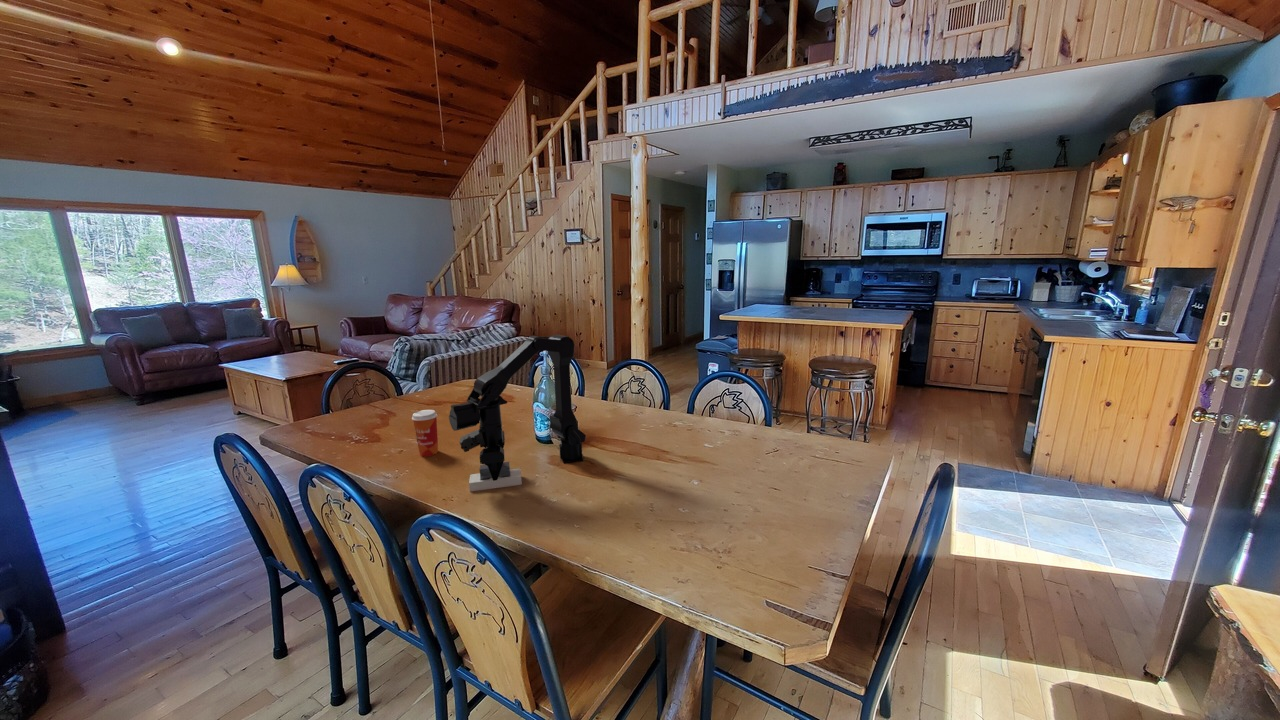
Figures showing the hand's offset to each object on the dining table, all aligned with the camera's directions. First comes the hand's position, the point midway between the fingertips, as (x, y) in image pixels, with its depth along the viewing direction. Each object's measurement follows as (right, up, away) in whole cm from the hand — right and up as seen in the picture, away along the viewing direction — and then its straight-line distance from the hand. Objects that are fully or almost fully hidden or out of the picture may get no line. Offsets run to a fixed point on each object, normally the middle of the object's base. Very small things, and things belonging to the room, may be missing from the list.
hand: (495, 473), depth 138 cm
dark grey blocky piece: (0, -3, +1) cm, 3 cm away
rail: (0, -3, +1) cm, 3 cm away
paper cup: (-29, +1, +24) cm, 37 cm away
